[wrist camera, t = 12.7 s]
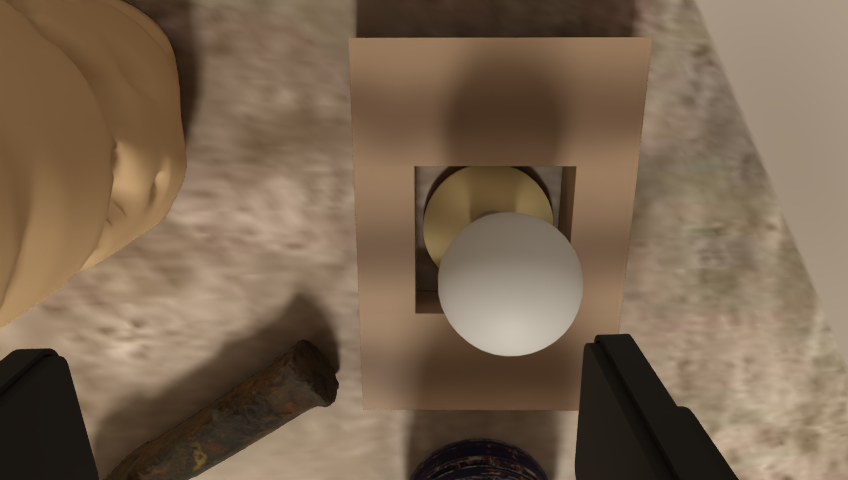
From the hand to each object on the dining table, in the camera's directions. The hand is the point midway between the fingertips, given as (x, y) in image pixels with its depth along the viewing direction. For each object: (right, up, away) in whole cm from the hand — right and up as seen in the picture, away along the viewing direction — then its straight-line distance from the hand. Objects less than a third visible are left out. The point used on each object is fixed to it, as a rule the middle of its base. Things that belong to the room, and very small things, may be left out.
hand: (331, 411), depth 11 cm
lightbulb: (+5, +4, +22) cm, 23 cm away
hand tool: (-12, -9, +28) cm, 31 cm away
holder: (+5, +4, +23) cm, 24 cm away
